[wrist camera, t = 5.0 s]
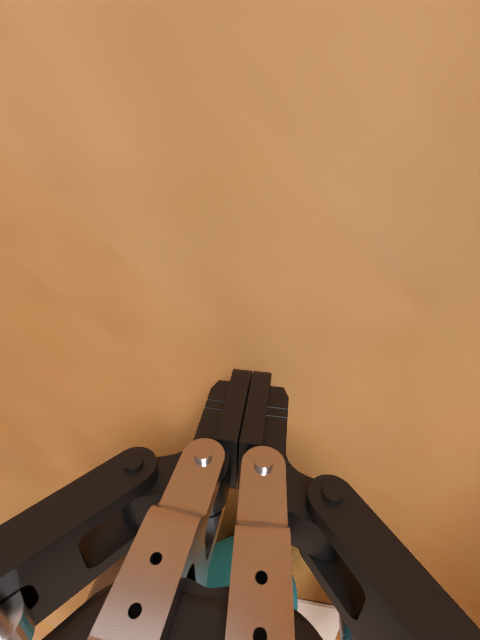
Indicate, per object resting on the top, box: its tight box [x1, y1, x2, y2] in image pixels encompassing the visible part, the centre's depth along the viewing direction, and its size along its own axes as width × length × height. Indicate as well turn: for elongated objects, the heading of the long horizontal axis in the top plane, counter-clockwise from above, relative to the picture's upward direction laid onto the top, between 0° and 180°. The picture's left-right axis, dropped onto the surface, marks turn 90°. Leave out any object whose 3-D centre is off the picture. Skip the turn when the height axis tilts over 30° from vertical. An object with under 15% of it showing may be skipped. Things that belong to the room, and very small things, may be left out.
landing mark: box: [297, 599, 340, 640], centre depth 29 cm, size 14×14×1 cm
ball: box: [206, 536, 298, 610], centre depth 20 cm, size 6×6×6 cm
